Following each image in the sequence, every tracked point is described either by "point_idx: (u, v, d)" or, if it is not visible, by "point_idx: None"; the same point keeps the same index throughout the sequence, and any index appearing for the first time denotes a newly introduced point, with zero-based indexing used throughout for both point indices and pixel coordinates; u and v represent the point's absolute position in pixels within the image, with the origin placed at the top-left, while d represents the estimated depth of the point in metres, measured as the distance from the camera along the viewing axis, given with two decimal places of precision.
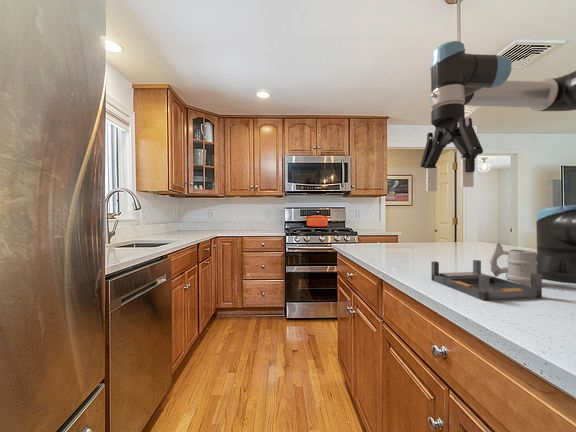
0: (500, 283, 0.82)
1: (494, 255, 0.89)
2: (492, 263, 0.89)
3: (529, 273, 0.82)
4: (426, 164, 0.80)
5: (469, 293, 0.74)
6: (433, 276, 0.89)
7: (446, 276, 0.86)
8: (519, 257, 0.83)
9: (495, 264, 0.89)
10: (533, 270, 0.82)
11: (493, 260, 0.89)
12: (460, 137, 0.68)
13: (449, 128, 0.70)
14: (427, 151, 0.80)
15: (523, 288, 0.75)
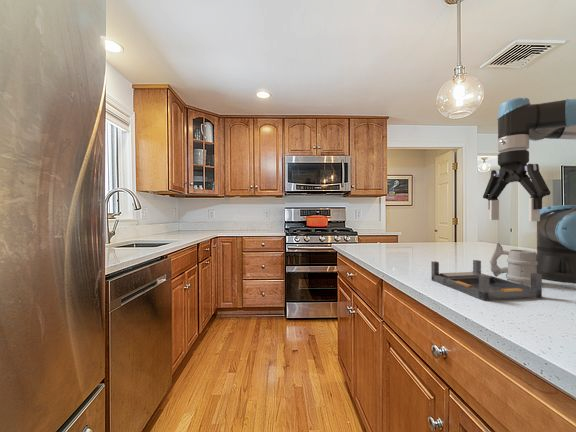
0: (500, 283, 0.82)
1: (494, 255, 0.89)
2: (492, 263, 0.89)
3: (529, 273, 0.82)
4: (489, 196, 0.93)
5: (469, 293, 0.74)
6: (433, 276, 0.89)
7: (446, 276, 0.86)
8: (519, 257, 0.83)
9: (495, 264, 0.89)
10: (533, 270, 0.82)
11: (493, 260, 0.89)
12: (526, 178, 0.82)
13: (516, 170, 0.84)
14: (490, 185, 0.93)
15: (523, 288, 0.75)
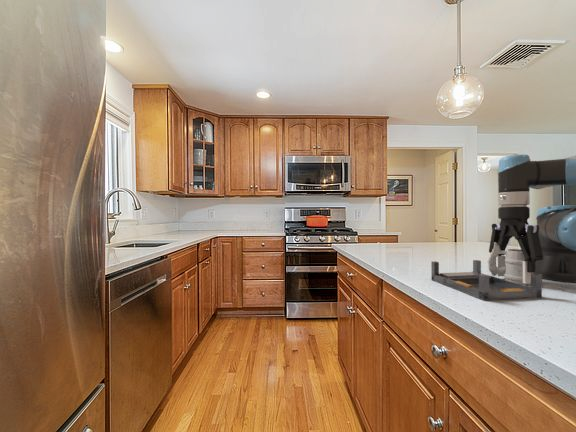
0: (500, 283, 0.82)
1: (492, 255, 0.89)
2: (490, 263, 0.90)
3: None
4: None
5: (469, 293, 0.74)
6: (433, 276, 0.89)
7: (446, 276, 0.86)
8: (516, 257, 0.84)
9: (493, 264, 0.89)
10: None
11: (491, 260, 0.90)
12: (525, 238, 0.83)
13: (516, 225, 0.84)
14: (494, 239, 0.92)
15: (523, 288, 0.75)
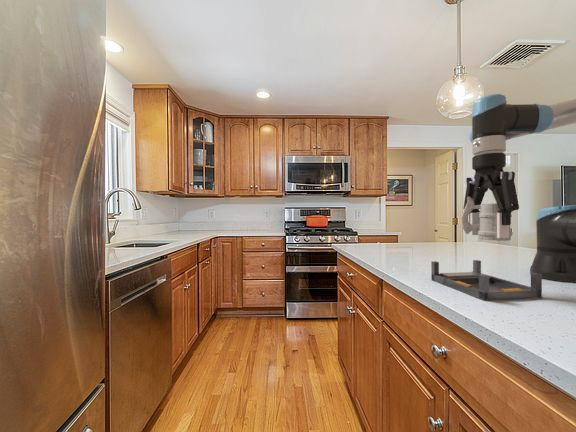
0: (500, 283, 0.82)
1: (465, 210, 0.80)
2: (463, 220, 0.81)
3: None
4: None
5: (469, 293, 0.74)
6: (433, 276, 0.89)
7: (446, 276, 0.86)
8: (491, 210, 0.75)
9: (466, 221, 0.80)
10: None
11: (464, 216, 0.80)
12: (500, 187, 0.74)
13: (491, 174, 0.75)
14: (469, 194, 0.83)
15: (523, 288, 0.75)
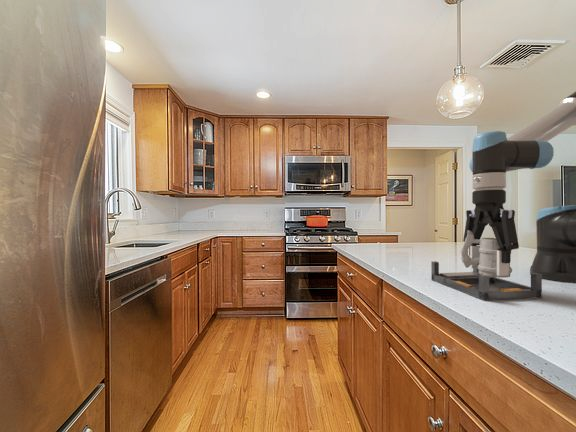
0: (500, 283, 0.82)
1: (465, 244, 0.80)
2: (463, 253, 0.81)
3: None
4: None
5: (469, 293, 0.74)
6: (433, 276, 0.89)
7: (446, 276, 0.86)
8: (490, 246, 0.75)
9: (466, 254, 0.80)
10: None
11: (464, 249, 0.81)
12: (500, 224, 0.74)
13: (491, 211, 0.75)
14: (469, 227, 0.83)
15: (523, 288, 0.75)
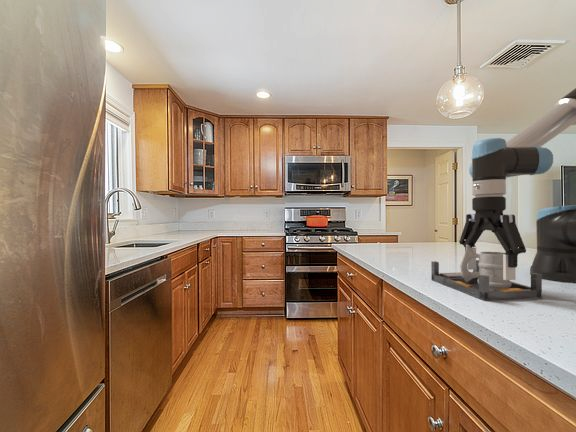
0: None
1: (464, 258, 0.80)
2: (462, 268, 0.81)
3: (502, 278, 0.74)
4: (466, 243, 0.84)
5: (469, 293, 0.74)
6: (433, 276, 0.89)
7: (446, 276, 0.86)
8: (491, 261, 0.75)
9: (466, 269, 0.80)
10: None
11: (463, 264, 0.81)
12: (502, 229, 0.73)
13: (491, 218, 0.75)
14: (466, 231, 0.84)
15: (523, 288, 0.75)
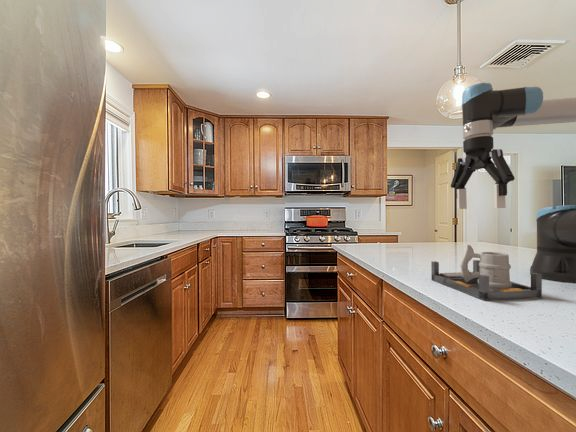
0: None
1: (465, 258, 0.80)
2: (463, 267, 0.81)
3: (502, 278, 0.74)
4: (457, 185, 0.91)
5: (469, 293, 0.74)
6: (433, 276, 0.89)
7: (446, 276, 0.86)
8: (491, 261, 0.75)
9: (466, 269, 0.80)
10: (506, 275, 0.74)
11: (464, 264, 0.80)
12: (491, 165, 0.80)
13: (481, 157, 0.82)
14: (457, 174, 0.91)
15: (523, 288, 0.75)
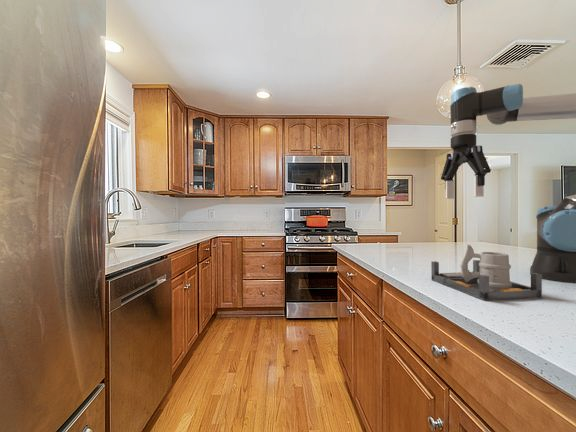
0: None
1: (465, 258, 0.80)
2: (463, 267, 0.81)
3: (502, 278, 0.74)
4: (445, 177, 1.03)
5: (469, 293, 0.74)
6: (433, 276, 0.89)
7: (446, 276, 0.86)
8: (491, 261, 0.75)
9: (466, 269, 0.80)
10: (506, 275, 0.74)
11: (464, 264, 0.80)
12: (473, 159, 0.92)
13: (465, 152, 0.94)
14: (446, 167, 1.03)
15: (523, 288, 0.75)
